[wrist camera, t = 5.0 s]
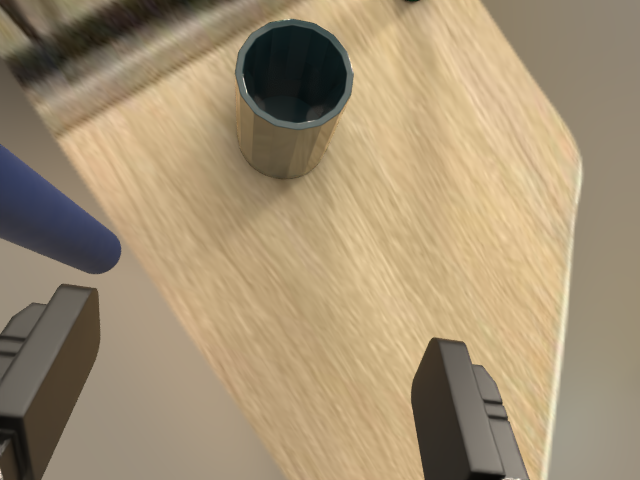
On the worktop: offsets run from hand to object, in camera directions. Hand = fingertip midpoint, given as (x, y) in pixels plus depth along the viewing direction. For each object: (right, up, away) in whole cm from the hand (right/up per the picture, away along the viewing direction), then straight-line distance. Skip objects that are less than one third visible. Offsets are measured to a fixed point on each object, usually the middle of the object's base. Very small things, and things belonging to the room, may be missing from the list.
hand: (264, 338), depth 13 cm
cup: (-1, +10, +26) cm, 27 cm away
